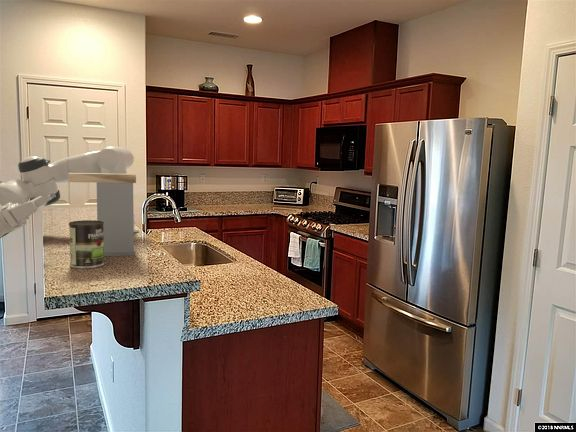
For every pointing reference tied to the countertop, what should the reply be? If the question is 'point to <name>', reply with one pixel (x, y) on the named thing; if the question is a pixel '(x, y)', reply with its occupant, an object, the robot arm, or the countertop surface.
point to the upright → (116, 217)
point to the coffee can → (86, 244)
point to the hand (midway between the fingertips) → (52, 195)
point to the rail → (102, 178)
